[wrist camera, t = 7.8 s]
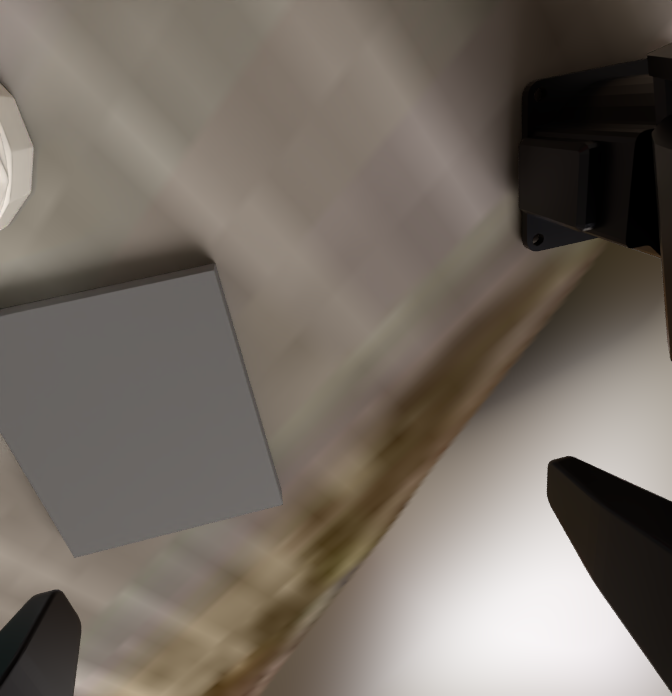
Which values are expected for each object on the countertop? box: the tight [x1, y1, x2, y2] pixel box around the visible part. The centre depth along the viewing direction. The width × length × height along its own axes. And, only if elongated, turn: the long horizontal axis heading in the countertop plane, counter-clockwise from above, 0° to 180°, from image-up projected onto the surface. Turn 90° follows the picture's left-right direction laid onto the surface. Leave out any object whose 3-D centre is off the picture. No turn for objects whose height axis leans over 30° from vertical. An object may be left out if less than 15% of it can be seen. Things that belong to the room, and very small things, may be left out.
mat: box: [0, 263, 283, 558], centre depth 21 cm, size 10×12×1 cm
